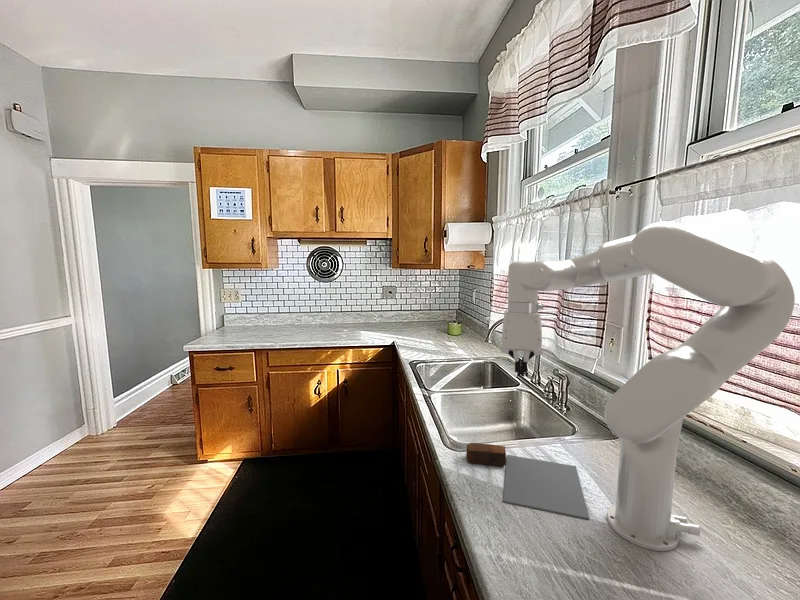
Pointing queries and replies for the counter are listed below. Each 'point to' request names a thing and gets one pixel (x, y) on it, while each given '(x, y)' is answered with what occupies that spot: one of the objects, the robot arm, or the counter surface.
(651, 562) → the counter surface
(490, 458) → the brick
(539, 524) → the counter surface
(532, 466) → the mat
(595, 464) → the counter surface
